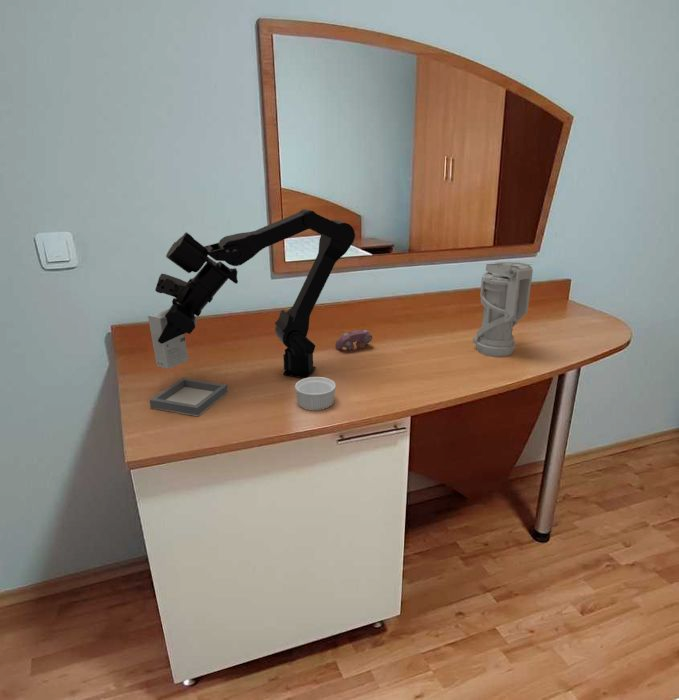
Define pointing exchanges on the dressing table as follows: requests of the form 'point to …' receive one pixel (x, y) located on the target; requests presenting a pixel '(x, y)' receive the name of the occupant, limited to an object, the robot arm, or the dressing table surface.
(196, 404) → the holder
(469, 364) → the dressing table surface
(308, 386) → the ramekin
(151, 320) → the skincare box
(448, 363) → the dressing table surface
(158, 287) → the robot arm
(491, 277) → the lantern
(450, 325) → the dressing table surface
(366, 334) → the video game controller
